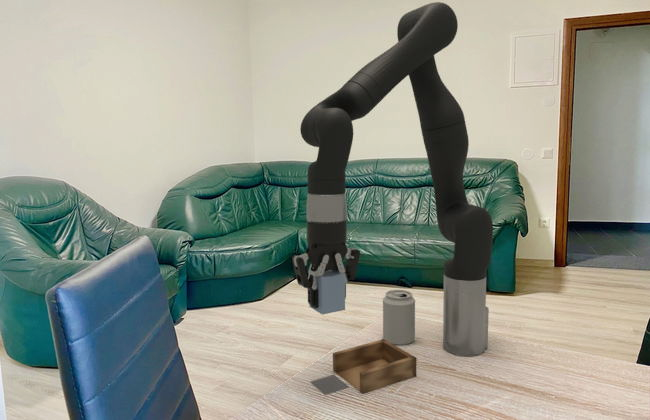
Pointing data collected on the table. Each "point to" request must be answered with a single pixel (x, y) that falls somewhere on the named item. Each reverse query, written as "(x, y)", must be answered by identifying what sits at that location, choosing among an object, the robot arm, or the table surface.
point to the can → (399, 317)
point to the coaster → (329, 384)
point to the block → (331, 292)
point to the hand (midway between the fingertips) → (327, 304)
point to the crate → (374, 365)
